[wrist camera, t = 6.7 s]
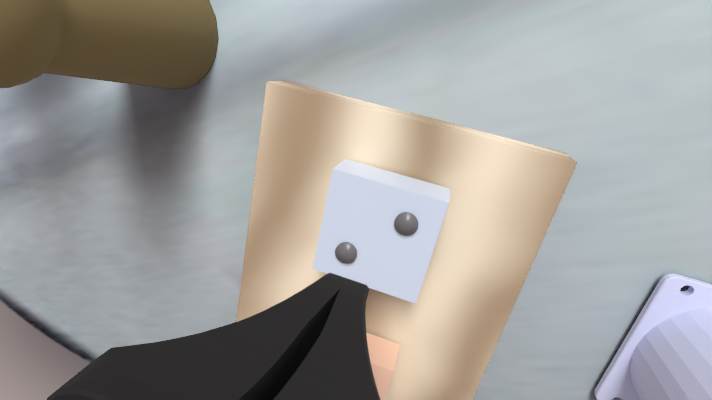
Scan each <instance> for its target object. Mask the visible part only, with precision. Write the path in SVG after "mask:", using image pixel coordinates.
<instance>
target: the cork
mask: <svg viewBox="0 0 712 400" xmlns="http://www.w3.org/2000/svg"><path fill="white" fill-rule="evenodd" d="M217 44H218V31H217V23H216V17H215V14H214V12H213V9H212V7H211V4H210V1H209V0H0V88H9V87H13V86H16V85H20V84H23V83H26V82H28V81H30V80H32V79H34V78H36V77H38V76H40V75H41V74H42V73H49V74H57V75H65V76H73V77H81V78H89V79H96V80H104V81H112V82H120V83H128V84H136V85H144V86H152V87H160V88H168V89H185V88H187V87H189V86H192V85H194V84H196V83H198V82H199V81H200V80H201V79H202V78H203V77H204V76H205V75H206V74H207V73H208V72H209V70H210V68H211V65H212V63H213V61H214V59H215V57H216V51H217Z"/></svg>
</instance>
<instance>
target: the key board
mask: <svg viewBox="0 0 712 400" xmlns="http://www.w3.org/2000/svg"><path fill="white" fill-rule="evenodd" d="M345 159H348V160H352V161H355V162H359V163H362V164H366V165H369V166H373V167H376V168H380V169H383V170H387V171H391V172H394V173H398V174H401V175H405V176H408V177H412V178H415V179H419V180H422V181H426V182H429V183H433V184H436V185H440V186H443V187H447V188H450V189H451V190H450V200H449V205H448V208H447V211H446V214H445V217H444V220H443V223H442V226H441V229H440V232H439V235H438V238H437V241H436V244H435V247H434V250H433V253H432V256H431V259H430V262H429V265H428V268H427V271H426V274H425V277H424V281H423V284H422V287H421V290H420V293H419V296H418V299H417V302H416V304H415V303H412V302H409V301H406V300H403V299H400V298H397V297H394V296H391V295H388V294H386V293H383V292H380V291H377V290H374V289H371V288H369V293H368V296H367V300H366V310H365V319H366V332H367V333H369V334H372V335H375V336H378V337H381V338H383V339H386V340H389V341H392V342H394V343H397V344H400V345H399V350H398V354H397V358H396V363H395V367H394V371H393V375H392V378H391V381H390V384H389V387H388V390H387V393H386V396H385V399H384V400H472V399H473V396H474V394H475V392H476V390H477V387H478V385H479V383H480V381H481V378H482V376H483V374H484V372H485V369H486V367H487V365H488V363H489V360H490V358H491V356H492V354H493V351H494V349H495V347H496V345H497V342H498V340H499V338H500V336H501V333H502V331H503V329H504V327H505V324H506V322H507V320H508V318H509V315H510V313H511V311H512V309H513V306H514V304H515V302H516V299H517V297H518V295H519V293H520V290H521V288H522V286H523V284H524V281H525V279H526V277H527V275H528V272H529V270H530V268H531V266H532V263H533V261H534V259H535V257H536V254H537V252H538V250H539V248H540V245H541V243H542V241H543V239H544V236H545V234H546V232H547V230H548V227H549V225H550V223H551V221H552V218H553V216H554V214H555V212H556V209H557V207H558V205H559V203H560V200H561V198H562V196H563V193H564V191H565V189H566V187H567V184H568V182H569V180H570V178H571V175H572V173H573V171H574V169H575V166H576V164H577V162H576V161H575V160H573V159H572V158H571V157H570V156H568V155H567V154H566V153H564V152H560V151H556V150H552V149H548V148H544V147H540V146H536V145H532V144H529V143H525V142H521V141H517V140H513V139H509V138H505V137H501V136H498V135H494V134H490V133H486V132H482V131H478V130H474V129H470V128H467V127H463V126H459V125H455V124H451V123H447V122H443V121H439V120H436V119H432V118H428V117H424V116H420V115H416V114H412V113H408V112H405V111H401V110H397V109H393V108H389V107H385V106H381V105H377V104H373V103H370V102H366V101H362V100H358V99H354V98H350V97H346V96H342V95H339V94H335V93H331V92H327V91H323V90H319V89H315V88H311V87H308V86H304V85H300V84H296V83H292V82H288V81H270V82H267V84H266V92H265V100H264V108H263V116H262V124H261V131H260V139H259V147H258V155H257V163H256V171H255V179H254V186H253V194H252V202H251V210H250V218H249V226H248V234H247V241H246V249H245V257H244V265H243V273H242V281H241V289H240V297H239V304H238V312H237V320H236V322H238V321H241V320H243V319H246V318H248V317H251V316H253V315H255V314H258V313H260V312H262V311H264V310H266V309H268V308H270V307H272V306H274V305H276V304H278V303H280V302H282V301H284V300H286V299H287V298H289V297H291V296H293V295H294V294H296V293H298V292H299V291H301V290H303V289H304V288H306V287H308V286H309V285H311V284H312V283H314V282H315V281H317V280H318V279H320V278H321V277H323V276H324V275H326V274H327V273H324V272H321V271H318V270H315V269H312V268H313V263H314V258H315V253H316V248H317V243H318V238H319V233H320V229H321V224H322V219H323V214H324V209H325V204H326V199H327V194H328V189H329V184H330V179H331V174H332V170H333V168H334V167H336V166H337V165H338V164H339V163H341V162H342V161H343V160H345Z"/></svg>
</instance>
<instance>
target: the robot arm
mask: <svg viewBox="0 0 712 400" xmlns="http://www.w3.org/2000/svg"><path fill="white" fill-rule="evenodd" d="M686 285H688V286H689V288H688V289H687V290H685V291H680V289H681V288H682V287H683V286H686ZM368 293H369V288H368V286H367V285H365V284H362V283H359V282H356V281H353V280H350V279H347V278H345V277H342V276H339V275H336V274H333V273H328V274H326V275H324V276H323V277H321V278H320V279H318V280H317V281H315V282H314V283H312V284H311V285H309V286H308V287H306V288H304V289H303V290H301V291H299V292H298V293H296V294H294V295H293V296H291V297H289V298H287V299H286V300H284V301H282V302H280V303H278V304H276V305H274V306H272V307H270V308H268V309H266V310H264V311H262V312H260V313H258V314H255V315H253V316H251V317H248V318H246V319H243V320H241V321H238V322H235V323H232V324H229V325H226V326H223V327H219V328H216V329H213V330H209V331H206V332H203V333H199V334H194V335H190V336H186V337H181V338H176V339H171V340H166V341H161V342H155V343H147V344H140V345H132V346H125V347H116V348H111V349H109V350H108V351H106V352H105V353H104V354H102V355H101V356H99V357H98V358H97V359H95V360H94V361H93V362H91V363H90V364H89V365H88V366H86V367H85V368H84V369H83V370H81V372H79V373H78V374H77V375H75V376H74V377H73V378H71V379H70V380H69V381H68V382H67V383H65V384H64V385H63V386H62V387H60V388H59V389H58V390H57V391H55V392H54V393H53V394H52V395H51V396H49V397H48V398H47V400H381V399H380V397H379V394H378V390H377V387H376V383H375V379H374V376H373V371H372V367H371V362H370V357H369V351H368V344H367V335H366V319H365V310H366V300H367V296H368ZM594 394H595V397H596V399H597V400H614V399H613V398H615V397H618V399H616V400H712V284H709V283H705V282H702V281H698V280H695V279H692V278H688V277H685V276H681V275H678V274H667V275H665V276H663V277H662V278H661V279H660V280H659V282H658V284H657V286H656V287H655V289H654V291H653V292H652V294H651V296H650V297H649V299H648V301H647V302H646V304H645V306H644V307H643V309H642V311H641V313H640V314H639V316H638V318H637V319H636V321H635V323H634V324H633V326H632V328H631V329H630V331H629V333H628V334H627V336H626V338H625V339H624V341H623V343H622V345H621V346H620V348H619V350H618V351H617V353H616V355H615V356H614V358H613V360H612V361H611V363H610V365H609V366H608V368H607V370H606V371H605V373H604V375H603V377H602V378H601V380H600V382H599V383H598V385H597V387H596V388H595V391H594Z"/></svg>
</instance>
